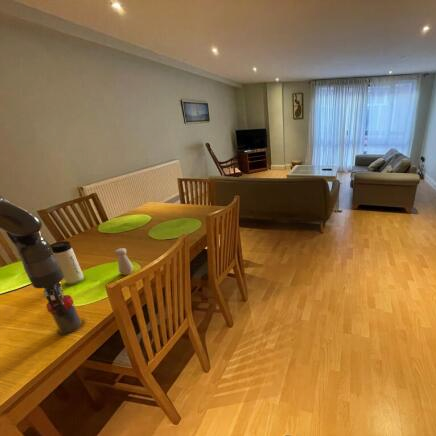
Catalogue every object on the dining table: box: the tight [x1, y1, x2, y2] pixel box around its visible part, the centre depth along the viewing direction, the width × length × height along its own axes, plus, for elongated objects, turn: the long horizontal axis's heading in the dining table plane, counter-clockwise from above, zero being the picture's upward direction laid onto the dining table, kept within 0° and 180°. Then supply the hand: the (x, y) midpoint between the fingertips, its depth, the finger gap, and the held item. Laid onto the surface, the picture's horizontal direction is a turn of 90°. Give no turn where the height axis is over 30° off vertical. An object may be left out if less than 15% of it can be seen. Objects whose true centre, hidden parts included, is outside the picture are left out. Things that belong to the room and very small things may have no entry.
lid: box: [45, 294, 74, 314], centre depth 82 cm, size 6×6×2 cm
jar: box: [50, 303, 83, 335], centre depth 84 cm, size 6×6×11 cm
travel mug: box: [49, 240, 85, 286], centre depth 107 cm, size 6×7×20 cm
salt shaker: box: [114, 247, 134, 276], centre depth 114 cm, size 6×6×13 cm
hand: (63, 309), depth 83 cm, fingers closed on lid, 6 cm apart
